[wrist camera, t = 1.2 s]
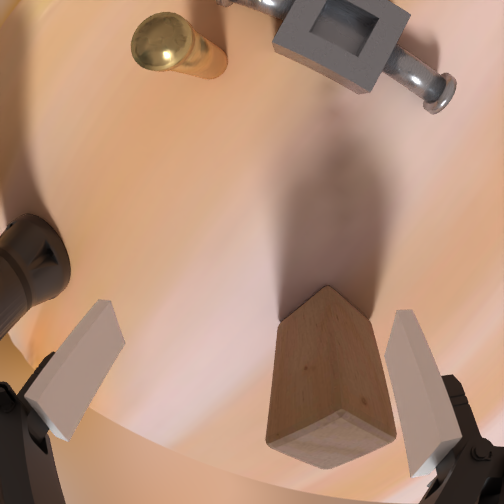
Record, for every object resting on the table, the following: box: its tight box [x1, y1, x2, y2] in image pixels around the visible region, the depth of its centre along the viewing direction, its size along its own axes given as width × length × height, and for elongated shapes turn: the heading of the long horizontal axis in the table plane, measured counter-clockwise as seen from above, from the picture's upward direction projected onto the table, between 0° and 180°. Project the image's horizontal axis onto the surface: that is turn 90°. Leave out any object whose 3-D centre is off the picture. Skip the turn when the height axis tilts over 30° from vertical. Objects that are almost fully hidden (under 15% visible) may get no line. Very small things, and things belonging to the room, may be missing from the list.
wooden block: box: [265, 286, 397, 469], centre depth 34 cm, size 10×10×20 cm
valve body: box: [216, 0, 457, 114], centre depth 24 cm, size 25×10×6 cm, turn 65°
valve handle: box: [131, 12, 228, 79], centre depth 23 cm, size 5×5×14 cm
